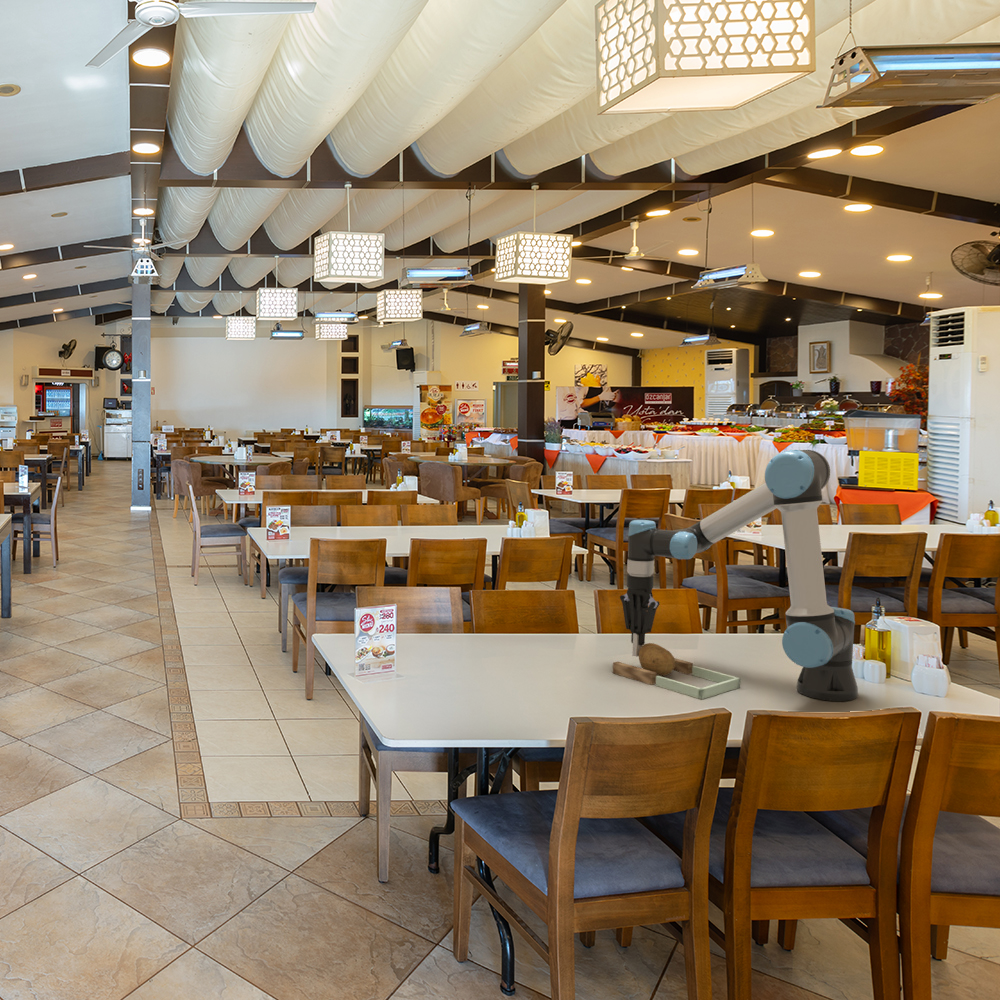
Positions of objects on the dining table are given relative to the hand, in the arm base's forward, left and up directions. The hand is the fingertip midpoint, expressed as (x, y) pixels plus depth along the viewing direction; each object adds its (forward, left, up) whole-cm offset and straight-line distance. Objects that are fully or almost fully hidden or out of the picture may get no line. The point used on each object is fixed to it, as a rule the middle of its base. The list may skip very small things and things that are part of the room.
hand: (637, 655), depth 250 cm
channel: (-6, 0, -4) cm, 7 cm away
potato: (-8, 0, -4) cm, 9 cm away
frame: (-21, 0, -4) cm, 22 cm away
